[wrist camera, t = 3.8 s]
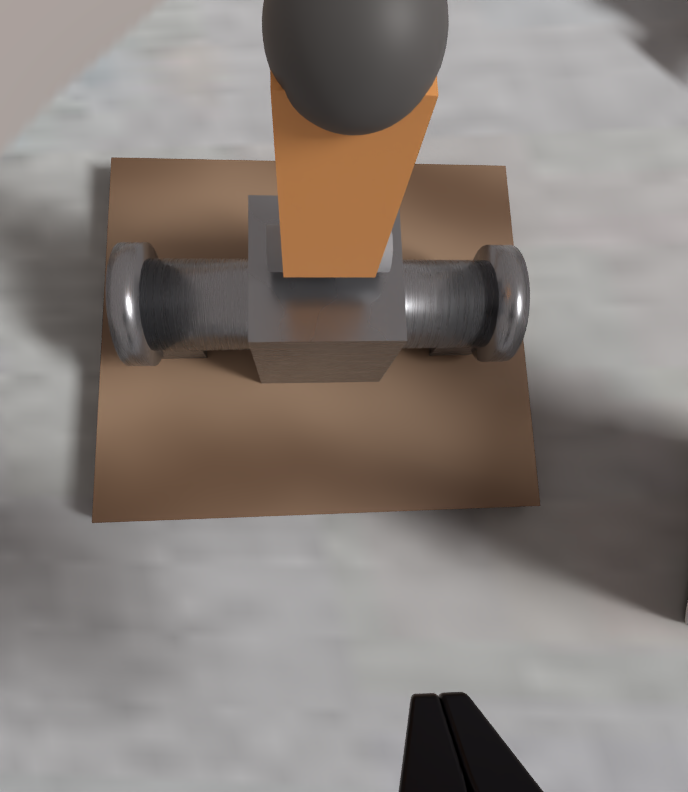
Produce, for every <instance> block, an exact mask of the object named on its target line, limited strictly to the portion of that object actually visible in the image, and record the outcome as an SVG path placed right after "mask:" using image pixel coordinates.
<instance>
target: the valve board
mask: <svg viewBox="0 0 688 792" xmlns="http://www.w3.org/2000/svg"><path fill="white" fill-rule="evenodd" d="M248 195H273V196H278V191H277V176H276V161H252V160H205V159H157V158H111V175H110V194H109V212H108V231H107V250H106V269H105V287H106V271H107V265H108V260H109V256H110V253H111V251H112V249H113V247H114V246H115V245H116V244H117V243H119V242H148V243H150V244H151V245H152V246H153V248H154V249H155V251H156V253H157V256H158V258H173V259H248ZM400 224H401V241H402V258H403V260H473V259H474V257H475V255H476V253H477V251H478V250H479V249H480V248H481V247H482V246H484V245H513V235H512V225H511V216H510V206H509V196H508V186H507V177H506V167H505V166H488V165H441V164H414V167H413V170H412V173H411V176H410V179H409V182H408V185H407V188H406V190H405V193H404V196H403V199H402V202H401V205H400ZM513 246H514V245H513ZM105 287H104V306H103V325H102V343H101V362H100V381H99V400H98V418H97V437H96V456H95V475H94V493H93V512H92V523H102V522H128V521H155V520H181V519H207V518H233V517H259V516H285V515H312V514H338V513H364V512H390V511H416V510H442V509H468V508H495V507H521V506H540V498H539V488H538V479H537V469H536V459H535V449H534V440H533V430H532V420H531V410H530V401H529V391H528V381H527V372H526V362H525V352H524V342H523V341H522V343H521V345H520V348H519V350H518V351H517V353H516V354H515V355H514V357H513V358H511V359H510V360H508V361H503V362H481V361H478V360H477V359H476V358H475V357H474V356H473V354H471V355H434V356H429V348H402V349H401V351H400V352H399V354H398V355H397V357H396V358H395V359H394V361H393V362H392V364H391V365H390V367H389V368H388V370H387V371H386V373H385V374H384V375H383V377H382V378H381V380H380V381H379V382H333V383H270V384H262V383H261V380H260V377H259V374H258V371H257V368H256V365H255V361H254V358H253V355H252V352H251V350H207V358H177V359H161V361H160V363H159V364H158V365H156V366H127V365H125V364H124V363H123V362H122V361H121V360H120V358H119V356H118V354H117V352H116V350H115V347H114V344H113V341H112V338H111V334H110V329H109V325H108V318H107V310H106V292H105Z"/></svg>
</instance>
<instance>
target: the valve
mask: <svg viewBox="0 0 688 792" xmlns="http://www.w3.org/2000/svg"><path fill="white" fill-rule="evenodd" d="M267 224H280V220H279V205H278V196H273V195H248V259H173V258H158V256H157V253H156V251H155V249H154V248H153V246H152V245H151V244H150V243H148V242H119V243H117V244H116V245H115V246H114V247H113V249H112V251H111V253H110V256H109V260H108V265H107V271H106V287H105V292H106V310H107V318H108V325H109V329H110V334H111V338H112V341H113V344H114V347H115V350H116V352H117V354H118V356H119V358H120V360H121V361H122V362H123V363H124V364H125V365H127V366H156V365H158V364H159V363H160V361H161V359H177V358H207V350H251V352H252V355H253V358H254V361H255V365H256V368H257V371H258V374H259V377H260V380H261V383H262V384H270V383H333V382H379V381H380V380H381V378H382V377H383V375H384V374H385V373H386V371H387V370H388V368H389V367H390V365H391V364H392V362H393V361H394V359H395V358H396V357H397V355H398V354H399V352H400V351H401V349H402V348H429V356H434V355H471V354H473V356H474V357H475V358H476V359H477V360H478V361H481V362H503V361H508V360H510V359H511V358H513V357H514V355H515V354H516V353H517V351H518V350H519V348H520V345H521V343H522V341H523V338H524V335H525V331H526V327H527V322H528V316H529V305H530V287H529V277H528V271H527V267H526V263H525V260H524V258H523V256H522V254H521V252H520V251H519V250H518V248H516V247H515V246H513V245H484V246H482V247H481V248H480V249H479V250H478V251H477V253H476V255H475V257H474V259H473V260H403V258H402V241H401V224H400V208H399V211H398V214H397V216H396V219H395V222H394V225H393V228H392V235H393V256H392V264H391V269H390V271H389V272H377V274H376V277H375V278H374V277H283V272H268V268H267V250H266V225H267Z"/></svg>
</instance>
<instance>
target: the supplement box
mask: <svg viewBox="0 0 688 792" xmlns="http://www.w3.org/2000/svg"><path fill="white" fill-rule="evenodd" d="M685 623H686V624H687V625H688V602H687V608H686V615H685Z"/></svg>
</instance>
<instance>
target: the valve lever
mask: <svg viewBox="0 0 688 792" xmlns="http://www.w3.org/2000/svg"><path fill="white" fill-rule="evenodd" d="M262 33H263V42H264V49H265V53H266V57H267V61H268V64H269V67H270V75H271V103H272V117H273V132H274V147H275V161H276V176H277V191H278V205H279V220H280V224H267V225H266V250H267V268H268V272H283V277H374V278H375V277H376V274H377V272H389V271H390V269H391V264H392V256H393V235H392V228H393V225H394V222H395V219H396V216H397V214H398V211H399V208H400V205H401V202H402V199H403V196H404V193H405V190H406V188H407V185H408V182H409V179H410V176H411V173H412V170H413V167H414V164H415V162H416V159H417V156H418V153H419V150H420V147H421V144H422V141H423V138H424V136H425V133H426V130H427V127H428V124H429V121H430V118H431V115H432V113H433V110H434V107H435V104H436V101H437V98H438V86H437V74H438V72H439V69H440V67H441V64H442V60H443V57H444V53H445V49H446V44H447V37H448V4H447V0H264V4H263V13H262Z"/></svg>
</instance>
